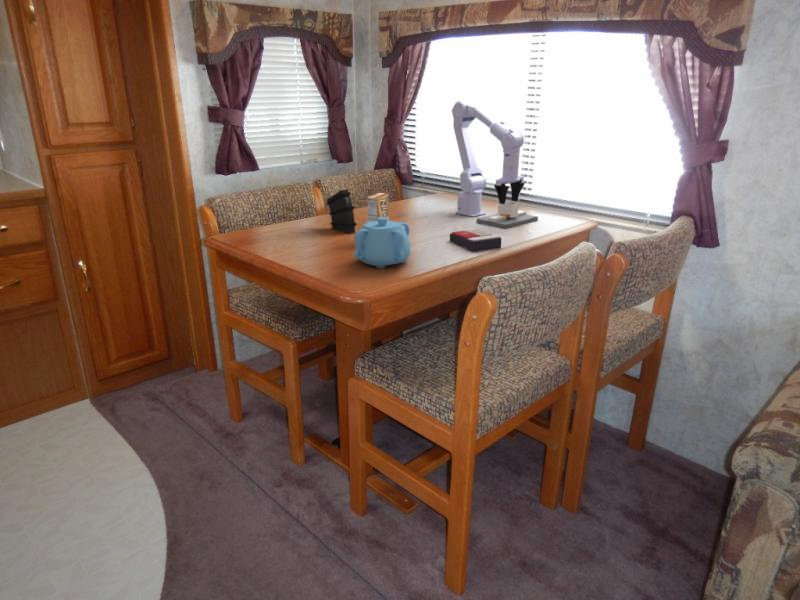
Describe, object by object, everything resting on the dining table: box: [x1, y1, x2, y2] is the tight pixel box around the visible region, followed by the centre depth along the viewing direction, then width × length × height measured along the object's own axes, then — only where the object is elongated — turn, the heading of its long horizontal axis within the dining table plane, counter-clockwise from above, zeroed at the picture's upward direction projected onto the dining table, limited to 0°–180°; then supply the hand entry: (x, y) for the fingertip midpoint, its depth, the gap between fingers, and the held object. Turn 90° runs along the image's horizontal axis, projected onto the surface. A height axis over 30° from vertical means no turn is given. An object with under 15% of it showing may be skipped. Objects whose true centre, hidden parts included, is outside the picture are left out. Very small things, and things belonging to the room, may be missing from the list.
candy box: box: [366, 192, 390, 222], centre depth 192 cm, size 9×4×15 cm, turn 156°
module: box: [497, 200, 520, 218], centre depth 218 cm, size 6×4×5 cm, turn 42°
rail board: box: [476, 209, 539, 230], centre depth 219 cm, size 14×20×3 cm
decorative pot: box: [353, 217, 412, 269], centre depth 168 cm, size 16×16×14 cm
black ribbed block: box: [326, 188, 357, 235], centre depth 206 cm, size 4×13×15 cm, turn 40°
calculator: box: [449, 228, 502, 253], centre depth 188 cm, size 11×4×15 cm
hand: (508, 202), depth 217 cm, fingers open, 7 cm apart
